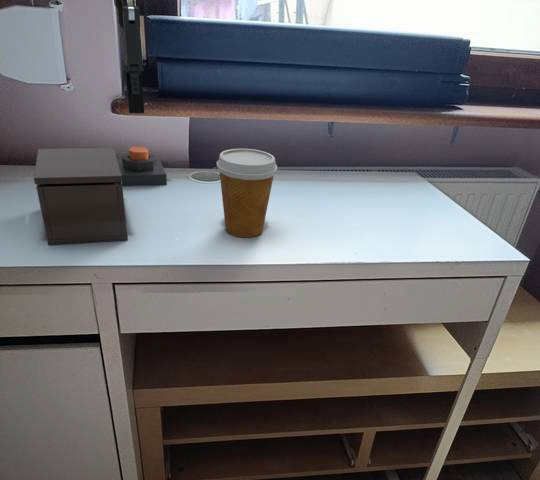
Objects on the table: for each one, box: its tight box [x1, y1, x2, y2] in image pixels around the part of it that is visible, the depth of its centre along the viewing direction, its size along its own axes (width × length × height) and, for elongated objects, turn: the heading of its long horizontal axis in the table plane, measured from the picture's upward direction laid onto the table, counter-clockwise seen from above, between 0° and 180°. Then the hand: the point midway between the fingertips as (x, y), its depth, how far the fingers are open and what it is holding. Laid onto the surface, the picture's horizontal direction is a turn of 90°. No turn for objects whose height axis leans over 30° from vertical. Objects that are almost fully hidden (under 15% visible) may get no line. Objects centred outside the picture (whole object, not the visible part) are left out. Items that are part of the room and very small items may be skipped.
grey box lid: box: [33, 147, 122, 185], centre depth 76 cm, size 15×12×1 cm
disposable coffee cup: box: [216, 148, 278, 238], centre depth 81 cm, size 10×10×12 cm
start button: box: [128, 146, 149, 160], centre depth 99 cm, size 4×4×2 cm
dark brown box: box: [35, 182, 129, 246], centre depth 80 cm, size 15×12×9 cm
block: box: [117, 152, 168, 187], centre depth 100 cm, size 10×9×4 cm
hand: (136, 112), depth 94 cm, fingers closed
